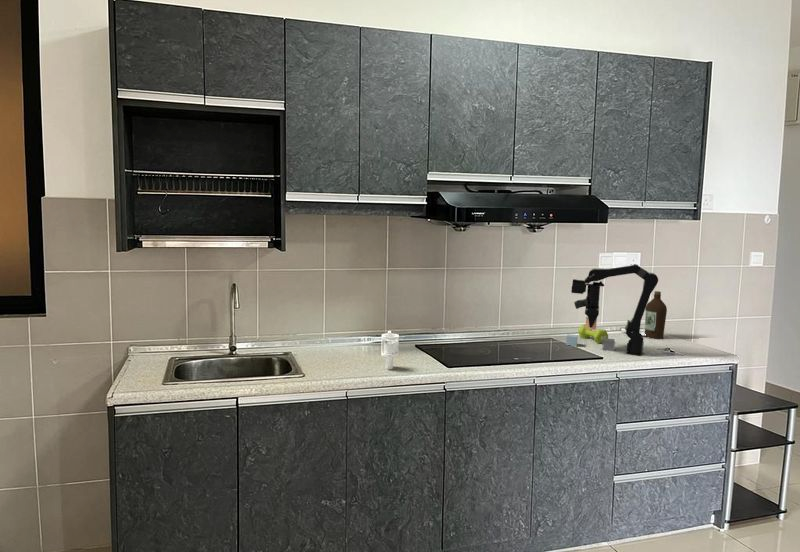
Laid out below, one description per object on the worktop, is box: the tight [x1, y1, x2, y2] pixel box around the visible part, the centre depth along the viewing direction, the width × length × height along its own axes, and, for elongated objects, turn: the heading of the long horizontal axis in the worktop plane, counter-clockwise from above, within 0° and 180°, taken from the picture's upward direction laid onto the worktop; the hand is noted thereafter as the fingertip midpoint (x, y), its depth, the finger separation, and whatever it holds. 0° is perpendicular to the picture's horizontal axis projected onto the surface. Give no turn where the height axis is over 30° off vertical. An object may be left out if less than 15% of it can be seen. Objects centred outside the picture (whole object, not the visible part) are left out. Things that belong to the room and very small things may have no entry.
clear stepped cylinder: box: [380, 330, 400, 370], centre depth 246 cm, size 7×7×15 cm
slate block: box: [565, 333, 579, 348], centre depth 298 cm, size 5×5×5 cm
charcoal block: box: [602, 337, 615, 352], centre depth 292 cm, size 5×5×5 cm
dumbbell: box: [577, 323, 609, 345], centre depth 311 cm, size 16×8×7 cm, turn 20°
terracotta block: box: [585, 316, 598, 331], centre depth 290 cm, size 5×5×5 cm
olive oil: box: [644, 290, 668, 340], centre depth 322 cm, size 11×11×25 cm
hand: (590, 326), depth 291 cm, fingers closed on terracotta block, 5 cm apart
